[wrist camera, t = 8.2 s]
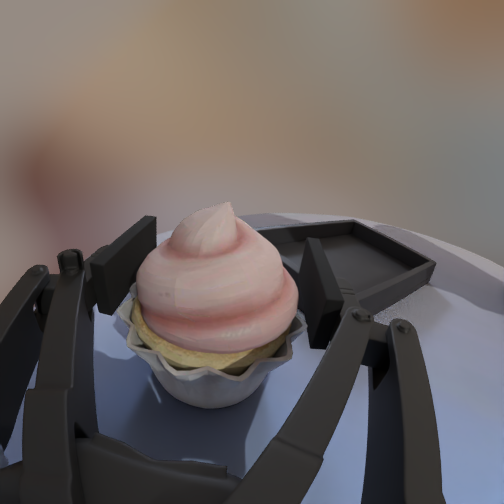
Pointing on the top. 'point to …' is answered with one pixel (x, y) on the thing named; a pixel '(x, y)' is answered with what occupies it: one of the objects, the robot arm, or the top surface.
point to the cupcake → (213, 310)
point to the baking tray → (355, 259)
